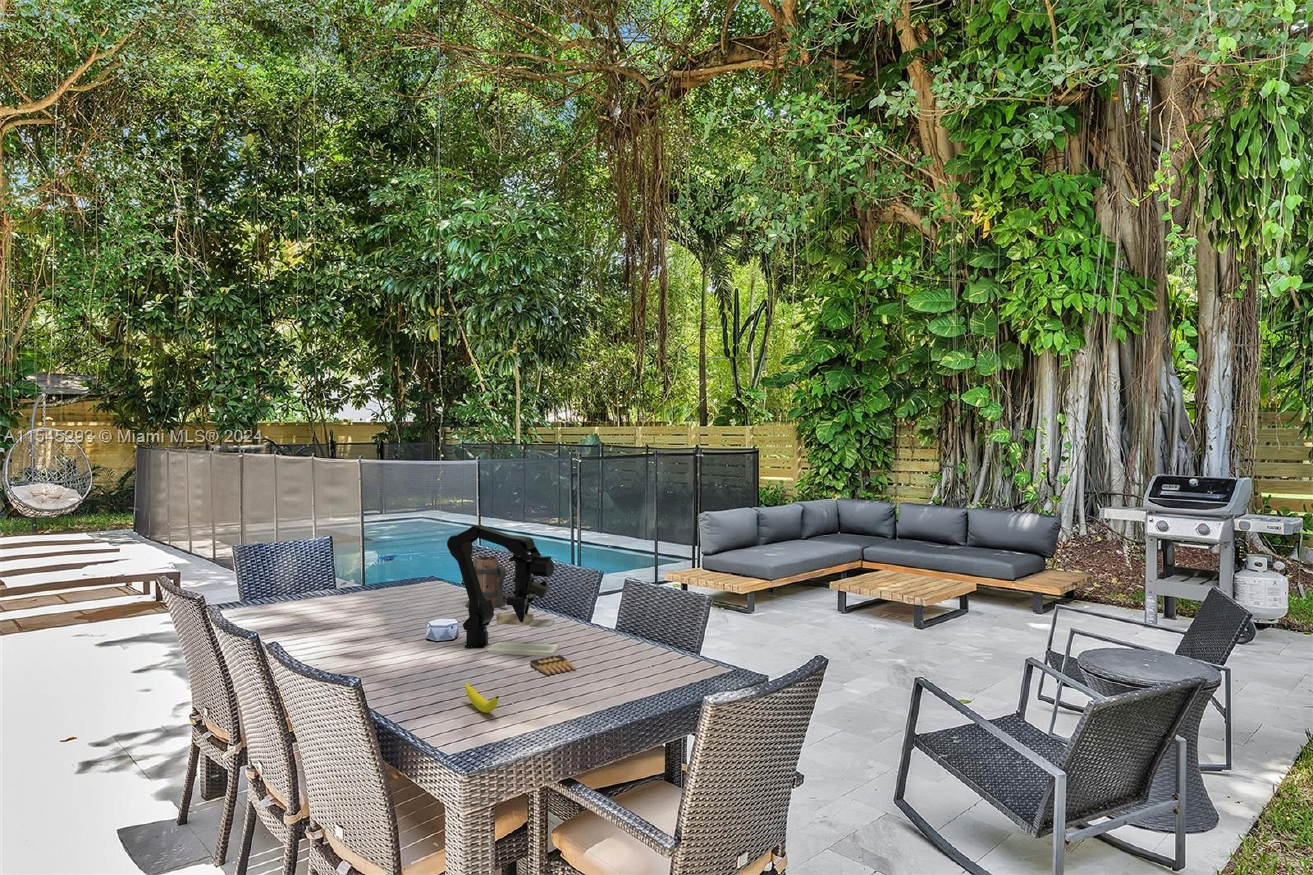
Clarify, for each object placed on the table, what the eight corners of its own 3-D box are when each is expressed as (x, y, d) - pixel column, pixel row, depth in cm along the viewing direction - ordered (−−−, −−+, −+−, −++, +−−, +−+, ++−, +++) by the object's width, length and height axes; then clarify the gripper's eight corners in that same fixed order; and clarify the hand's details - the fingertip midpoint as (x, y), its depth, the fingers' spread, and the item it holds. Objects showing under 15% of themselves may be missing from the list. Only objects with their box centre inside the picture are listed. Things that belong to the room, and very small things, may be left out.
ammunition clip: (530, 666, 242) (547, 678, 232) (530, 660, 242) (547, 672, 232) (560, 660, 248) (578, 671, 238) (560, 654, 248) (578, 665, 238)
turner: (494, 625, 257) (494, 616, 257) (500, 620, 263) (500, 611, 263) (549, 627, 254) (549, 618, 254) (554, 622, 260) (554, 614, 260)
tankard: (457, 605, 324) (457, 558, 324) (489, 598, 337) (489, 553, 337) (491, 614, 309) (492, 564, 309) (524, 606, 322) (524, 559, 322)
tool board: (488, 653, 256) (488, 650, 256) (496, 645, 265) (496, 642, 265) (552, 656, 253) (552, 652, 253) (559, 648, 262) (559, 644, 262)
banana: (470, 699, 213) (470, 676, 213) (503, 719, 198) (503, 695, 198) (460, 701, 211) (460, 678, 211) (492, 722, 196) (492, 697, 196)
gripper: (539, 581, 248) (538, 629, 249) (553, 570, 267) (553, 615, 267) (505, 580, 250) (505, 627, 250) (522, 569, 268) (522, 613, 268)
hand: (523, 620), depth 259 cm, fingers closed on turner, 3 cm apart
